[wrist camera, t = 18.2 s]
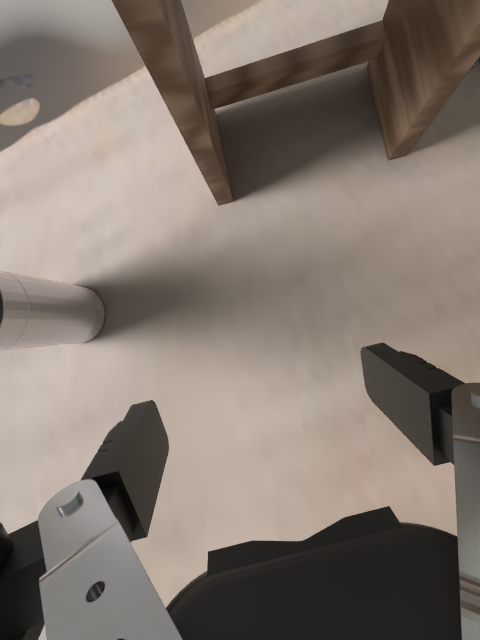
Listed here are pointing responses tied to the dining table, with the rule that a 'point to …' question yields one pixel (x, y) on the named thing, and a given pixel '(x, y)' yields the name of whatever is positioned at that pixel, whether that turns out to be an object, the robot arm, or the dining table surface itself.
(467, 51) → the stand
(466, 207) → the dining table surface
